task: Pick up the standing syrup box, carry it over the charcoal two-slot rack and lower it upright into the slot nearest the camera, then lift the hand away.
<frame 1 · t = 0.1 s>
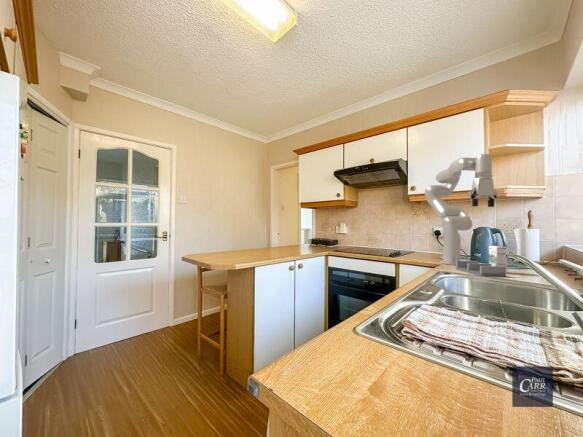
hand: (483, 206, 137), 37 cm above the counter, tool pointing down, fingers open, 9 cm apart
slot rack: (479, 272, 132), on the counter
syrup box: (497, 272, 134), on the counter
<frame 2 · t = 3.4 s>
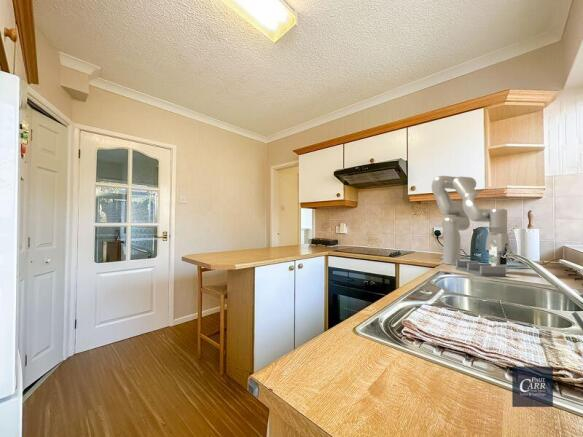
hand: (497, 263, 135), 5 cm above the counter, tool pointing down, fingers closed on syrup box, 5 cm apart
syrup box: (497, 272, 134), on the counter, touching gripper
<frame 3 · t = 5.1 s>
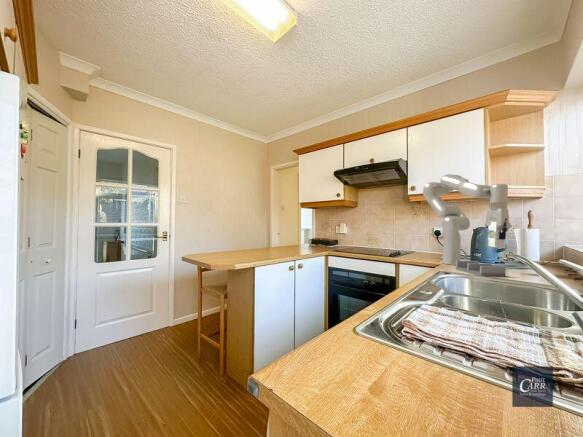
hand: (496, 238, 135), 19 cm above the counter, tool pointing down, fingers closed on syrup box, 5 cm apart
syrup box: (496, 247, 135), point 13 cm above the counter, touching gripper
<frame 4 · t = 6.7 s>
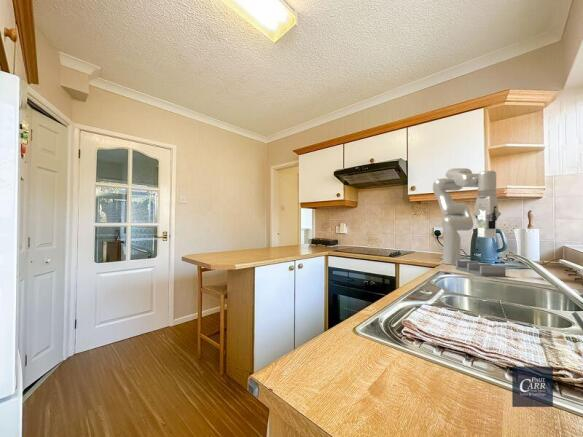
hand: (486, 228, 129), 24 cm above the counter, tool pointing down, fingers closed on syrup box, 5 cm apart
syrup box: (486, 238, 128), point 19 cm above the counter, touching gripper
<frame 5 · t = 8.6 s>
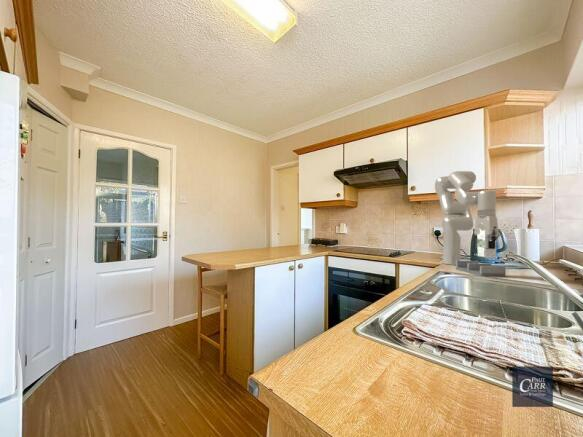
hand: (486, 247, 128), 14 cm above the counter, tool pointing down, fingers closed on syrup box, 5 cm apart
syrup box: (486, 257, 128), point 9 cm above the counter, touching gripper
when the fingers open (8 cm above the counter, at t = 10.3 s): syrup box drops 1 cm, resting on slot rack.
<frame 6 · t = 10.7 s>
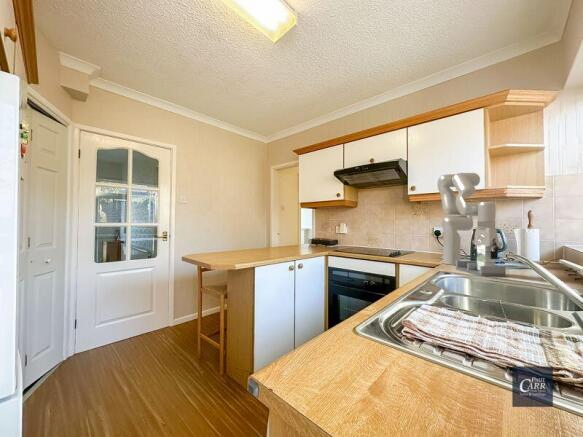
hand: (485, 257, 128), 9 cm above the counter, tool pointing down, fingers open, 9 cm apart
syrup box: (485, 271, 128), point 1 cm above the counter, touching slot rack
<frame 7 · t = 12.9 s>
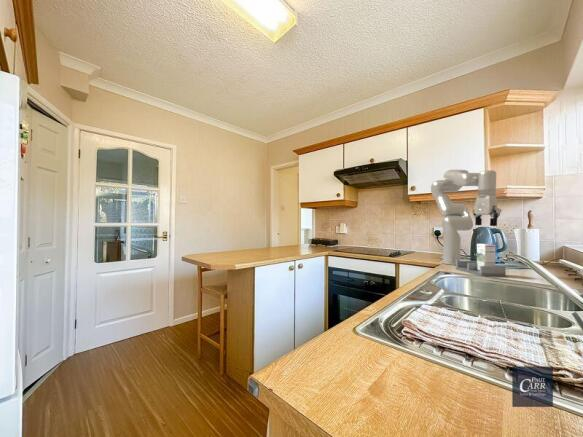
hand: (485, 225, 131), 26 cm above the counter, tool pointing down, fingers open, 9 cm apart
nothing on the counter moved.
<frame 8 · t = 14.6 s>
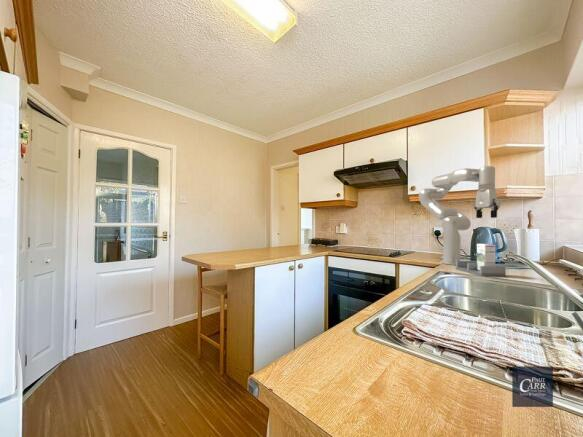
hand: (486, 217, 140), 30 cm above the counter, tool pointing down, fingers open, 9 cm apart
nothing on the counter moved.
at the end: syrup box 0.3 cm from the target spot on the slot rack, point 1.3 cm above the slot rack's base; syrup box tilted 0°; the gripper is holding nothing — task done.
